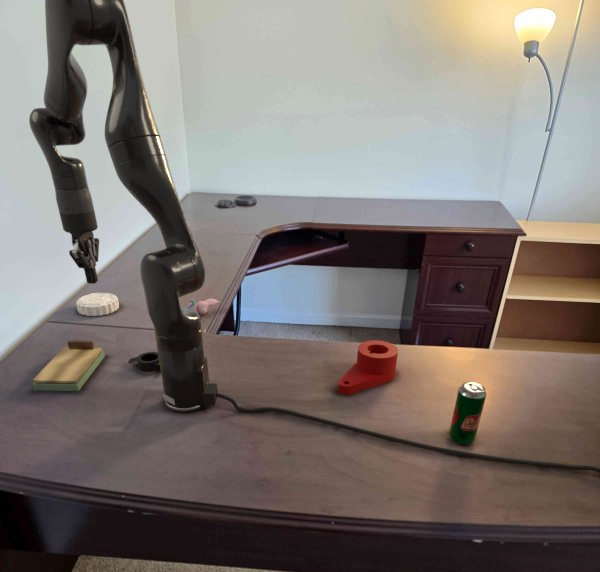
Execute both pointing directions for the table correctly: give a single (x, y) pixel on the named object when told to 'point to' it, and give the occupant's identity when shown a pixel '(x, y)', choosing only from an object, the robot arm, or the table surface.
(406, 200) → the table surface
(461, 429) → the soda can
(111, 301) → the mooncake
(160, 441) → the table surface
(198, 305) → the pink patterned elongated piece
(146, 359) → the black wing nut
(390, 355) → the lever
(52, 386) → the sliding lid box
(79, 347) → the slide lid
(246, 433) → the table surface
